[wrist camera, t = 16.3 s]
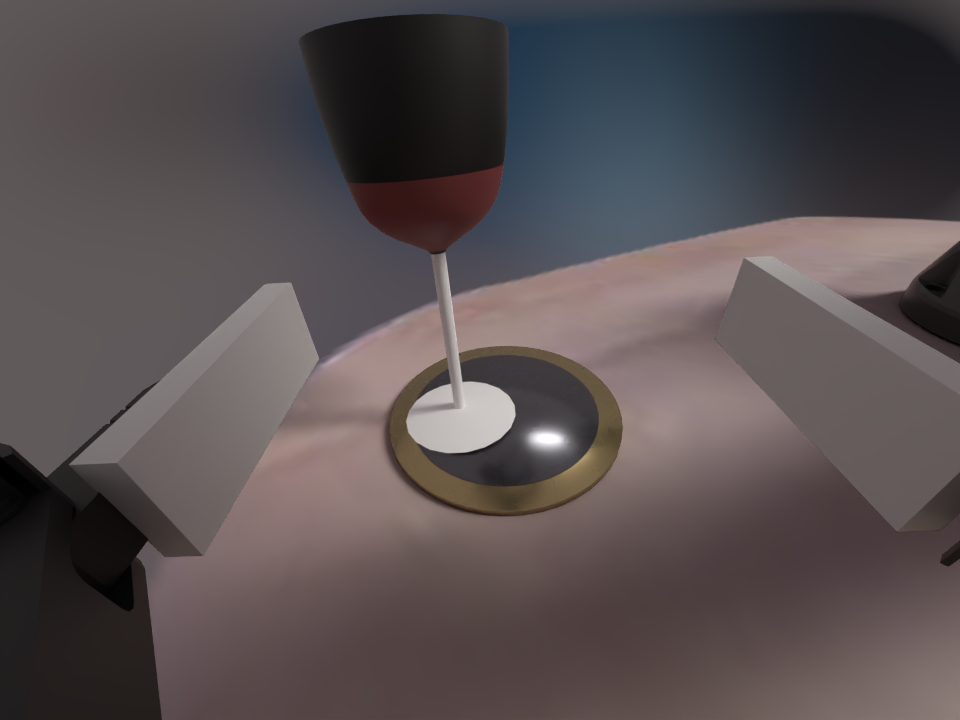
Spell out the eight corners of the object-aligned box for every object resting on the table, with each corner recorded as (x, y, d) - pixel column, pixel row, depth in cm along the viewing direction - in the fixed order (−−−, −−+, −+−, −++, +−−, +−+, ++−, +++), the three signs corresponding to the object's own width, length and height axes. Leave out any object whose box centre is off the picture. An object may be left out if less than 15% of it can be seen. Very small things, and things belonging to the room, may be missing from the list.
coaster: (548, 334, 35) (549, 329, 35) (677, 460, 23) (679, 454, 23) (376, 378, 31) (374, 373, 31) (419, 560, 19) (417, 554, 19)
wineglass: (376, 420, 26) (268, 55, 16) (468, 366, 31) (432, 59, 21) (449, 481, 21) (361, 2, 11) (546, 406, 26) (549, 25, 16)
